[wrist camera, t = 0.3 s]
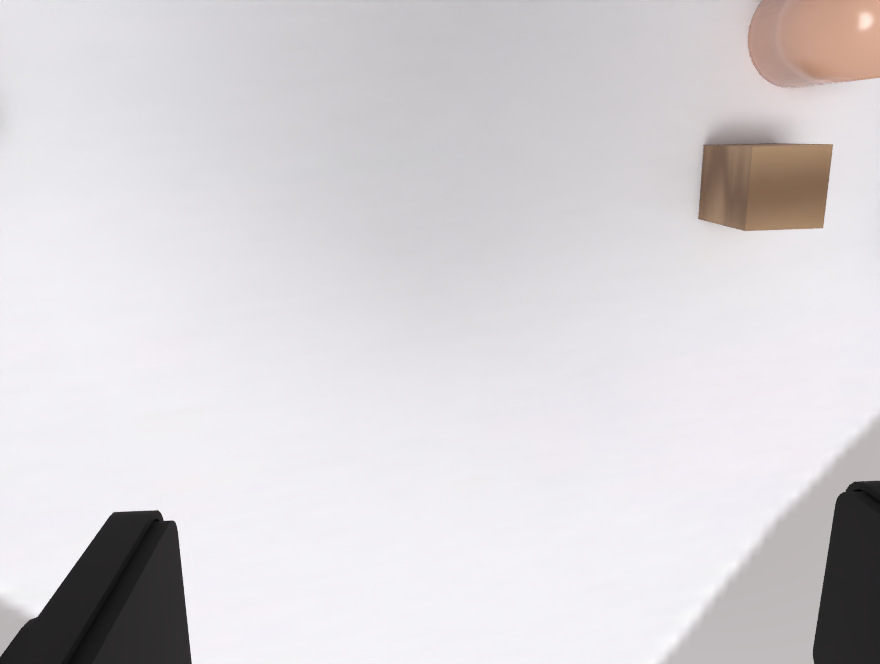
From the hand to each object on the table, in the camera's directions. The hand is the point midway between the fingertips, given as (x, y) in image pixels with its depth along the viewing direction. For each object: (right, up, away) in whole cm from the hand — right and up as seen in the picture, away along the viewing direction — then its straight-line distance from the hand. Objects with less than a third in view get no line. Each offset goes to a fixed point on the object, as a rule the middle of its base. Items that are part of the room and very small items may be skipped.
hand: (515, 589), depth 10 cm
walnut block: (+17, +13, +35) cm, 41 cm away
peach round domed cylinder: (+20, +21, +33) cm, 44 cm away
